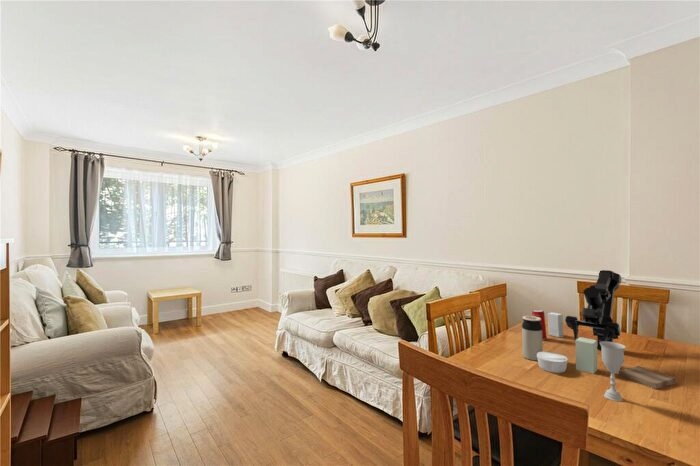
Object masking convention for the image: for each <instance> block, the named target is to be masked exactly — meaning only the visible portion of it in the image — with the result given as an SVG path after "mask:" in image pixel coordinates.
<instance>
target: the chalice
mask: <svg viewBox="0 0 700 466" xmlns="http://www.w3.org/2000/svg"><path fill="white" fill-rule="evenodd" d="M600 345H601V350H600V351H601V352H600V353H601V360H602V362H603V364H604V366H605V368H606V370H607V371H608V372H610V376H609V378H610V381H609V384H610V386H611V387H610V388H608V389H606V390H605V393H604V394H603V397H604V398H606V399H608V400H611V401H614V402H623V398H622V395H621V393H620V392H619V391H618V390H617V389H616V385H617V383H616V382H615V381H616V375H615V374H617V373H619V371H620V370H621V368H622V367H623V364H624V362H625V357H624V356H625V349H626V346H625V345H624V344H622V343H617V342H614V341H613V342H607V341H602V342H600Z"/></svg>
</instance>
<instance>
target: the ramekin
mask: <svg viewBox="0 0 700 466" xmlns="http://www.w3.org/2000/svg"><path fill="white" fill-rule="evenodd" d="M537 358H538V360H537V364H538V366H539V368H540V369H541V370H543V371H545V372H549V373H553V374H563V373H565V372H566V371H567V366H568V365H567V364H568V361H569V358H568V357H567V356H565V355H563V354H561V353H558V352H553V351H543V352H539V353H537Z"/></svg>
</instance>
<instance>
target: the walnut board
mask: <svg viewBox="0 0 700 466" xmlns="http://www.w3.org/2000/svg"><path fill="white" fill-rule="evenodd" d="M618 376H619V377H621V378H623V379H627V380H629V381H632V382H635V383H637V384H639V385H642V386H645V385H646V387H648V386H649V388H651V387H652V388H651V389H654V388H655V389H654V390H658V388H659V389H661V387H662V388H666V387H668V386H672V385H675V383H677V377H674V376H671V375H667V374H665V373H661V372H657V371H654V370H652V369H649V368H645V367H642V366H640V365H637V366H633V367H630V368H625V369H620V370H619V371H618Z"/></svg>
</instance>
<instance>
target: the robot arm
mask: <svg viewBox="0 0 700 466" xmlns="http://www.w3.org/2000/svg"><path fill="white" fill-rule="evenodd" d="M620 284H622V276H621V274H620V273H617V272H614V271H613V270H605V269H602V270H600V271H599V272H598V278H597V281H596V283H594V284H591V285H590V286H589V287H586V288H585V289H584V290H583V296H584V298H585V301H586V304H587V307H583V308H582V313H581V315H582V319H583V320H578V317H577V316H573V315H572V316H571V315H567V316H565V319H564V321H565V323H566V326H567V328H570V330H572V331H573V336H574V340H576V339H578V338H579V337H578V336H579V330H580V329H579V327H580V326H581V327H582V326H583V327H588V328H592V333H593V336H594V337H595V336H596V337H597V339H596V340H597V350H600V351H601V345H600V342H602V341H607V342H614V340H618V339H619V336H621V326H620V324H619V323H618V322H614V320H613V319H612V315H613V314H612V313H613V306H614V299H615V292H616V291H618V289H619V288H620Z"/></svg>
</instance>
